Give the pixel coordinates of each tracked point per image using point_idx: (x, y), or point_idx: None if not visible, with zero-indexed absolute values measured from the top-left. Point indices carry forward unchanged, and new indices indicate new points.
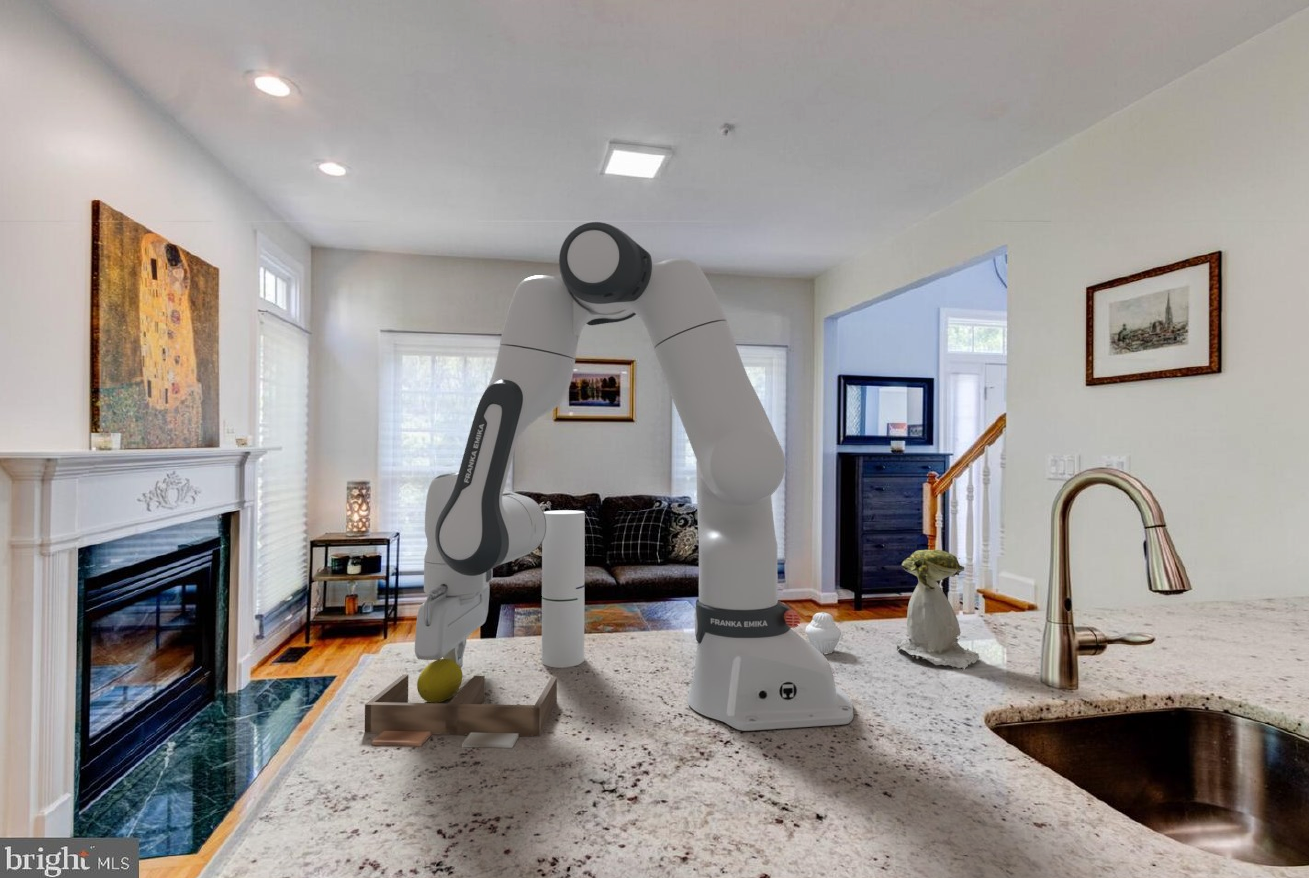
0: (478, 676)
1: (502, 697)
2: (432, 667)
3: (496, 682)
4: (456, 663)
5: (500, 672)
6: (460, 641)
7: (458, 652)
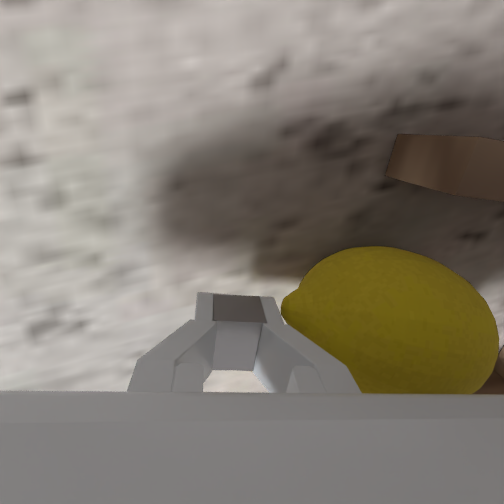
0: (472, 170)
1: (379, 57)
2: (474, 388)
3: (194, 116)
4: (398, 313)
5: (49, 116)
6: (383, 401)
7: (203, 352)
